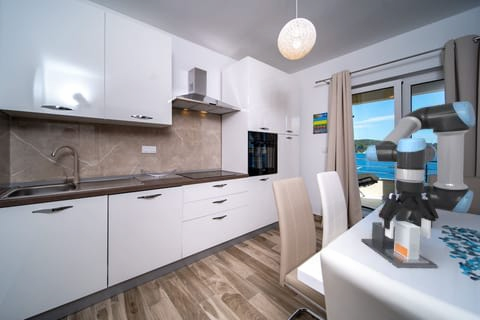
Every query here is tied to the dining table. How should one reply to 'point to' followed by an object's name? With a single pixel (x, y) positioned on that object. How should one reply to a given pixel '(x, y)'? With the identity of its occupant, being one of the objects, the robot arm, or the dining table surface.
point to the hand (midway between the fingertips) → (407, 236)
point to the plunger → (382, 219)
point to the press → (386, 249)
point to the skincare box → (407, 240)
